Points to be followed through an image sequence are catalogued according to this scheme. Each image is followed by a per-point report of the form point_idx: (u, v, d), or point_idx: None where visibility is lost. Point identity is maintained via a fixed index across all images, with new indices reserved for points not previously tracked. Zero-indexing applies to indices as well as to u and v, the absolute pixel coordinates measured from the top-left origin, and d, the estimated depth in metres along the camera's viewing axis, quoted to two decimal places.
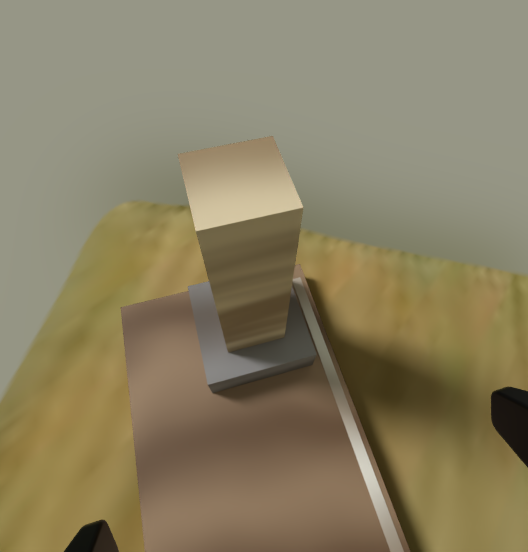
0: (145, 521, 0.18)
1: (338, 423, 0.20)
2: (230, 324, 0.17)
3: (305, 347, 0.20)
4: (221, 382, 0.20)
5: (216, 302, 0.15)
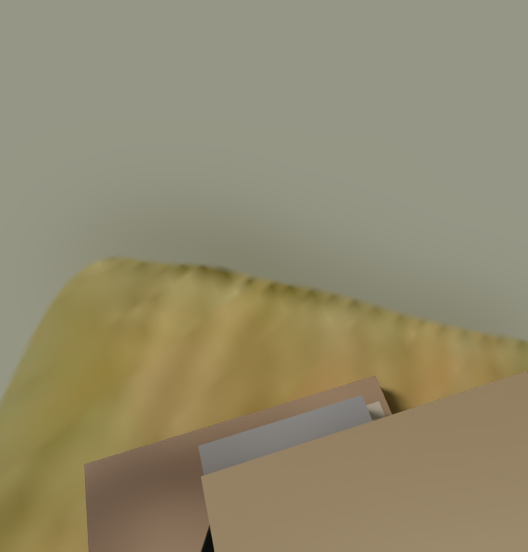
0: None
1: None
2: None
3: None
4: None
5: None
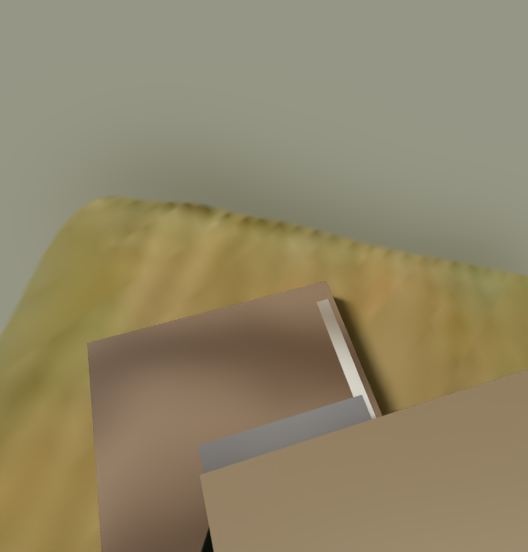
0: None
1: None
2: None
3: None
4: None
5: None
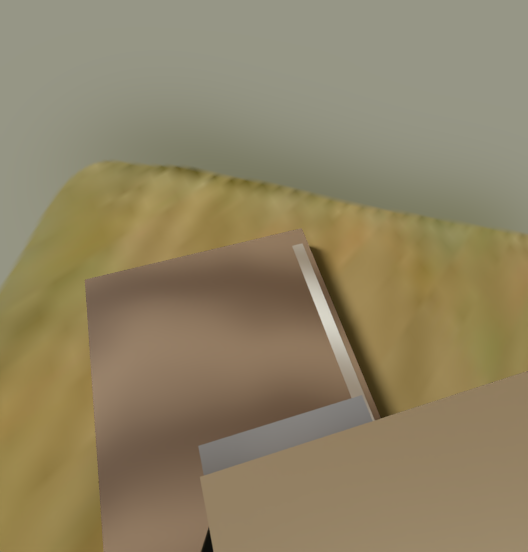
0: (107, 545, 0.14)
1: None
2: None
3: None
4: None
5: None
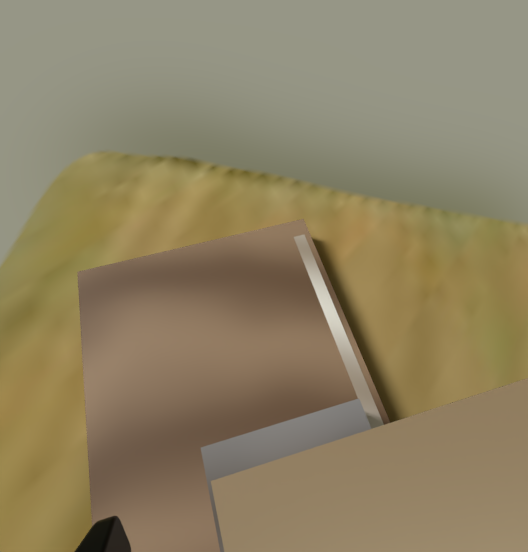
0: None
1: None
2: None
3: None
4: None
5: None
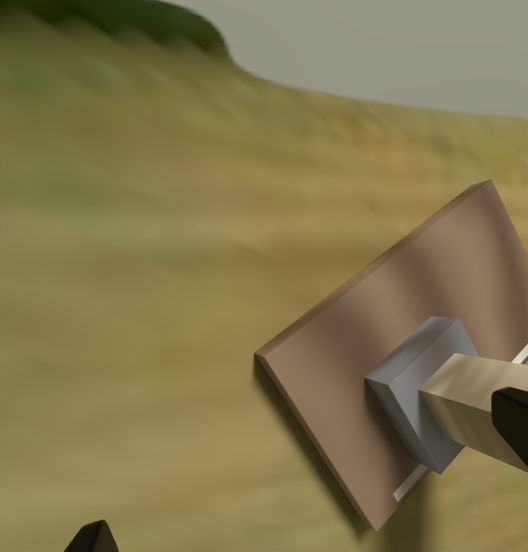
0: (375, 273, 0.21)
1: None
2: (487, 417, 0.16)
3: (442, 460, 0.20)
4: (389, 394, 0.19)
5: None
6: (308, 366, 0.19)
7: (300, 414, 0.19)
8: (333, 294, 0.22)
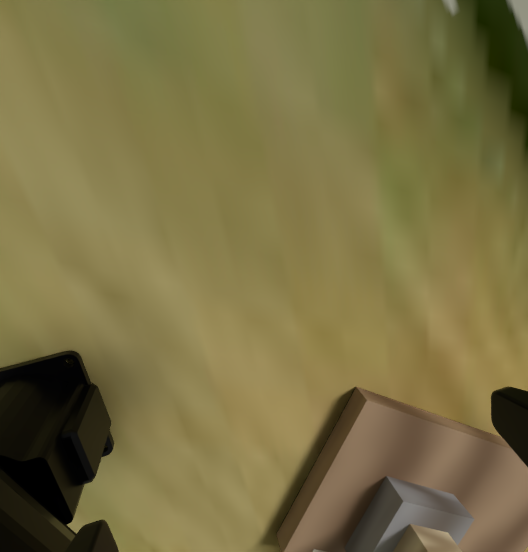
0: (463, 435, 0.25)
1: None
2: None
3: None
4: (394, 505, 0.23)
5: None
6: (374, 433, 0.23)
7: (338, 449, 0.23)
8: (427, 413, 0.25)
